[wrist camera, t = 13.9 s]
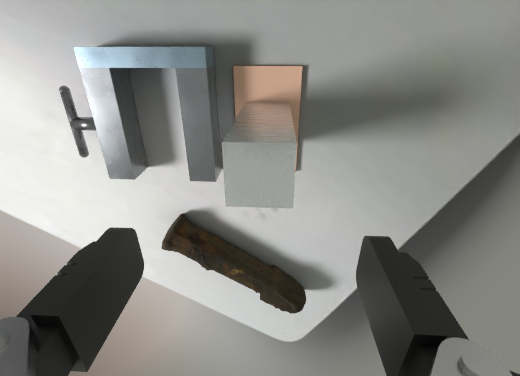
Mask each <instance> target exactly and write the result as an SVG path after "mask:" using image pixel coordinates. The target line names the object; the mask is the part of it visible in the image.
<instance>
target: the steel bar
mask: <svg viewBox="0 0 520 376" xmlns="http://www.w3.org/2000/svg"><path fill="white" fill-rule="evenodd" d="M296 147H297V142H296V136H295V131H294V125H293V119H292V113H291V108H290V102H245V104H244V106H243V107H242V109H241V111H240V112H239V114H238V116H237V117H236V119H235V121H234V122H233V124H232V126H231V127H230V129H229V131H228V132H227V134H226V136H225V137H224V139H223V141H222V156H223V170H224V184H225V199H226V206H233V207H266V208H293V198H294V181H295V164H296Z"/></svg>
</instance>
